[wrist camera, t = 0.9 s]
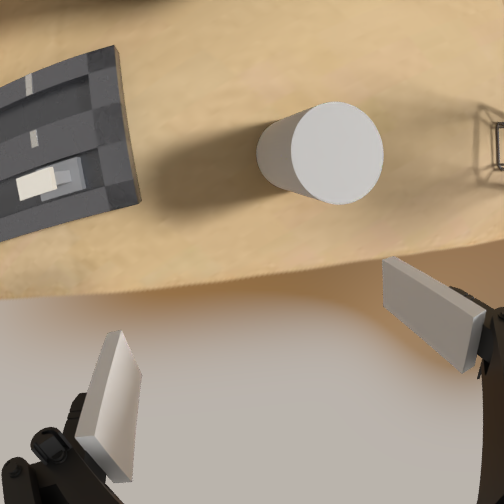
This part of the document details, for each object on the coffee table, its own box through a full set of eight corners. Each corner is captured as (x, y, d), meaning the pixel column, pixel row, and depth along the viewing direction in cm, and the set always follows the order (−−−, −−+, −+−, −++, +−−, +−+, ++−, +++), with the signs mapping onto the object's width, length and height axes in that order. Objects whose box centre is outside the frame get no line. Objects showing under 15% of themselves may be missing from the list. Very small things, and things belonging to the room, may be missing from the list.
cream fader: (40, 169, 29) (8, 173, 22) (80, 156, 29) (54, 156, 22) (46, 200, 30) (16, 210, 23) (86, 188, 30) (61, 195, 23)
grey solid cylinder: (284, 204, 36) (328, 225, 25) (241, 145, 34) (269, 138, 22) (337, 163, 36) (398, 167, 25) (299, 105, 34) (349, 84, 22)
